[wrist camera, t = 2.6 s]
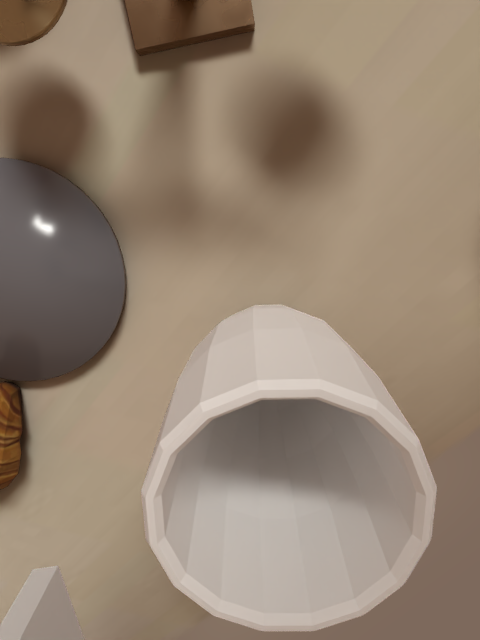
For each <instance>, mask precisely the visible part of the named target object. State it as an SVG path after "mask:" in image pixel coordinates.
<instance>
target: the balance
mask: <svg viewBox="0 0 480 640" xmlns="http://www.w3.org/2000/svg"><path fill="white" fill-rule="evenodd" d="M66 3H67V0H0V45H7V46H19V45H25V44H28V43H32V42H34V41H36V40H38V39H40V38H41V37H43V36H44V35H46V34H47V33H48V32H49V31H50V30H51V29H52V28H53V27H54V26H55V25H56V23H57V22H58V20H59V19H60V17H61V15H62V14H63V11H64V9H65V6H66ZM125 4H126V9H127V13H128V18H129V22H130V27H131V31H132V36H133V40H134V45H135V49H136V51H137V52H138V54H139V55H140V56H142V55H146V54H151V53H155V52H160V51H164V50H169V49H173V48H178V47H182V46H187V45H191V44H196V43H200V42H205V41H210V40H214V39H219V38H223V37H228V36H232V35H237V34H241V33H246V32H250V31H254V27H255V22H254V16H253V10H252V3H251V0H125Z"/></svg>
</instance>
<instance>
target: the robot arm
mask: <svg viewBox="0 0 480 640" xmlns="http://www.w3.org/2000/svg"><path fill="white" fill-rule="evenodd" d="M0 640H84V636H83V633H82V630H81V628H80V625H79V622H78V619H77V617H76V614H75V611H74V608H73V605H72V603H71V600H70V597H69V594H68V591H67V589H66V586H65V583H64V580H63V577H62V575H61V572H60V569H59V566H52V567H45V568H39V569H33V570H32V572H31V573H30V575H29V577H28V578H27V580H26V582H25V584H24V585H23V587H22V589H21V590H20V592H19V594H18V595H17V597H16V599H15V601H14V602H13V604H12V606H11V607H10V609H9V611H8V613H7V614H6V616H5V618H4V619H3V621H2V623H1V624H0Z"/></svg>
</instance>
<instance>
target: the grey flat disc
mask: <svg viewBox="0 0 480 640" xmlns="http://www.w3.org/2000/svg"><path fill="white" fill-rule="evenodd" d="M125 292H126V274H125V266H124V261H123V255H122V252H121V249H120V246H119V243H118V240H117V238H116V236H115V234H114V232H113V229H112V227H111V226H110V224H109V222H108V221H107V219H106V218H105V216H104V214H103V213H102V212H101V210H100V209H99V208H98V207H97V206H96V204H95V203H94V202H93V201H92V200H91V199H90V198H89V197H88V196H87V195H86V194H85V193H84V192H83V191H82V190H81V189H80V188H78V187H77V186H76V185H74V184H73V183H72V182H71V181H69V180H68V179H66V178H64V177H63V176H61V175H59V174H58V173H56V172H54V171H52V170H49V169H47V168H45V167H42V166H40V165H37V164H33V163H30V162H26V161H22V160H16V159H9V158H0V378H3V379H10V380H17V381H36V380H45V379H50V378H54V377H58V376H61V375H63V374H66V373H68V372H71V371H73V370H74V369H76V368H78V367H80V366H82V365H83V364H84V363H86V362H87V361H88V360H90V359H91V358H92V357H93V356H94V355H95V354H96V353H97V352H98V351H99V350H100V349H101V348H102V347H103V346H104V345H105V344H106V342H107V341H108V340H109V338H110V337H111V335H112V334H113V332H114V330H115V328H116V326H117V324H118V322H119V319H120V316H121V313H122V310H123V305H124V301H125Z"/></svg>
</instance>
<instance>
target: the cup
mask: <svg viewBox="0 0 480 640" xmlns="http://www.w3.org/2000/svg"><path fill="white" fill-rule="evenodd" d="M436 494H437V486H436V483H435V481H434V478H433V475H432V473H431V470H430V467H429V465H428V462H427V459H426V457H425V454H424V451H423V449H422V446H421V443H420V441H419V439H418V437H417V436H416V434H415V432H414V431H413V429H412V428H411V426H410V425H409V423H408V422H407V420H406V419H405V417H404V415H403V414H402V412H401V411H400V409H399V408H398V406H397V405H396V403H395V402H394V400H393V398H392V397H391V395H390V394H389V392H388V391H387V389H386V388H385V386H384V385H383V383H382V381H381V380H380V378H379V377H378V375H377V374H376V373H375V372H374V371H373V370H372V369H371V368H370V367H369V366H368V365H367V364H366V363H365V361H364V360H363V359H362V358H361V357H360V356H359V355H358V354H357V353H356V352H355V351H354V350H353V348H352V347H351V346H350V345H349V344H348V343H347V342H346V341H345V340H344V339H343V338H342V337H340V336H339V335H338V334H337V333H336V332H335V331H334V330H333V329H332V328H331V327H330V326H329V325H328V324H327V323H326V322H325V321H324V320H321V319H318V318H316V317H313V316H311V315H308V314H305V313H303V312H300V311H298V310H295V309H292V308H290V307H287V306H283V305H254V306H252V307H249V308H247V309H245V310H242V311H240V312H238V313H235V314H233V315H231V316H229V317H228V318H226V319H225V320H223V321H221V322H220V323H219V324H218V325H217V326H216V327H215V328H214V329H213V330H212V331H211V332H210V333H209V334H208V335H207V336H206V337H205V338H204V339H203V340H202V341H201V342H200V343H199V344H198V345H197V346H196V347H195V349H194V351H193V352H192V354H191V356H190V358H189V360H188V362H187V364H186V366H185V368H184V369H183V371H182V373H181V375H180V377H179V379H178V382H177V384H176V387H175V390H174V392H173V395H172V398H171V400H170V403H169V406H168V408H167V411H166V414H165V416H164V419H163V422H162V425H161V429H160V432H159V435H158V438H157V441H156V445H155V448H154V451H153V454H152V458H151V461H150V464H149V467H148V470H147V474H146V477H145V480H144V483H143V487H142V490H141V495H142V505H143V516H144V526H145V536H146V541H147V542H148V544H149V546H150V547H151V549H152V551H153V553H154V554H155V556H156V558H157V559H158V561H159V563H160V564H161V566H162V568H163V569H164V571H165V573H166V574H167V576H168V578H169V579H170V581H171V583H172V584H173V585H174V587H176V588H177V589H178V590H180V591H181V592H182V593H184V594H185V595H186V596H188V597H189V598H190V599H192V600H193V601H194V602H196V603H197V604H198V605H200V606H201V607H202V608H204V609H205V610H206V611H208V612H209V613H210V614H212V615H213V616H215V617H219V618H222V619H225V620H228V621H231V622H235V623H237V624H241V625H244V626H247V627H250V628H253V629H257V630H260V631H316V630H319V629H322V628H325V627H329V626H332V625H335V624H338V623H341V622H344V621H347V620H350V619H353V618H356V617H359V616H362V615H364V614H366V613H367V612H369V611H370V610H371V609H372V608H374V607H375V606H377V605H378V604H379V603H380V602H382V601H383V600H385V599H386V598H387V597H389V595H391V594H392V593H394V592H395V591H396V590H398V589H399V588H401V587H402V586H403V585H404V584H405V582H406V581H407V579H408V577H409V576H410V574H411V573H412V571H413V569H414V568H415V566H416V564H417V563H418V561H419V559H420V558H421V556H422V554H423V553H424V551H425V549H426V548H427V546H428V545H429V543H430V540H431V538H432V530H433V521H434V512H435V503H436Z"/></svg>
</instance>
